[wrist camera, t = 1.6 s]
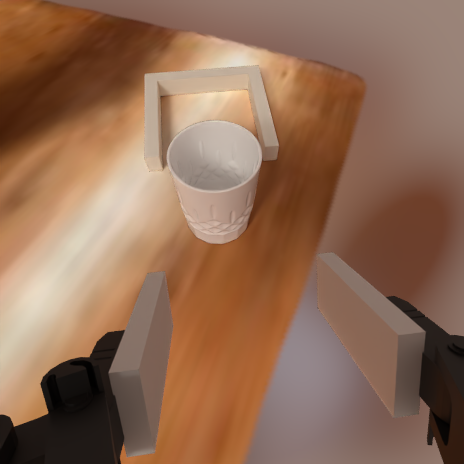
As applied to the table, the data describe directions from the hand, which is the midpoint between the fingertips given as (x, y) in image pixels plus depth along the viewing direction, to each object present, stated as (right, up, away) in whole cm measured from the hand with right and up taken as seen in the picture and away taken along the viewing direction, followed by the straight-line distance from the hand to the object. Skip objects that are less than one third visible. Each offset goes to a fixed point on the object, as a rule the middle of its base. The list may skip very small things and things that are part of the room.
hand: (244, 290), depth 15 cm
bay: (-4, +17, +28) cm, 33 cm away
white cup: (-2, +4, +22) cm, 22 cm away
